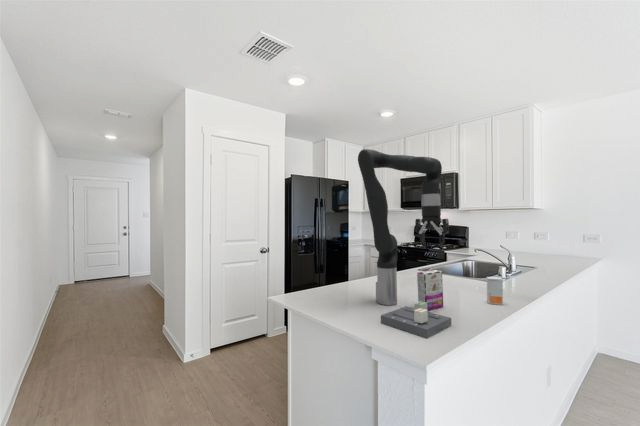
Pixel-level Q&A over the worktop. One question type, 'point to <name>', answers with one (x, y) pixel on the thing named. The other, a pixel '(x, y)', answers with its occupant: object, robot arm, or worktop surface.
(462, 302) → the worktop surface
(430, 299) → the candy bar box
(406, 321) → the fader board
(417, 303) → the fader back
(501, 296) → the skincare box
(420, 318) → the block
